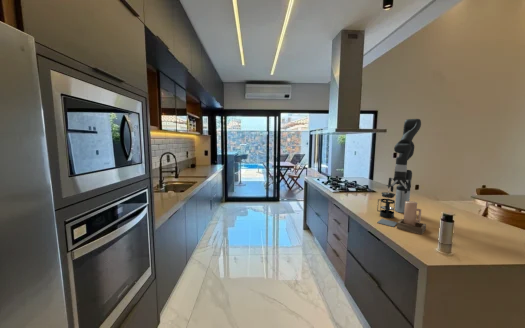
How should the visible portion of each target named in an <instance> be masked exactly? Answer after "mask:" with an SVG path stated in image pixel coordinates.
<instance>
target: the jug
mask: <svg viewBox="0 0 525 328" xmlns="http://www.w3.org/2000/svg"><path fill="white" fill-rule="evenodd" d="M417 213H418V218H417ZM421 217H422V209H421V208H418V202H417V201H411V200H409V201H405V209H404V213H403V219H404V221H403V224H407V225H411V226H415V224H416V222H418V223H421V220H422V219H421Z"/></svg>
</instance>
